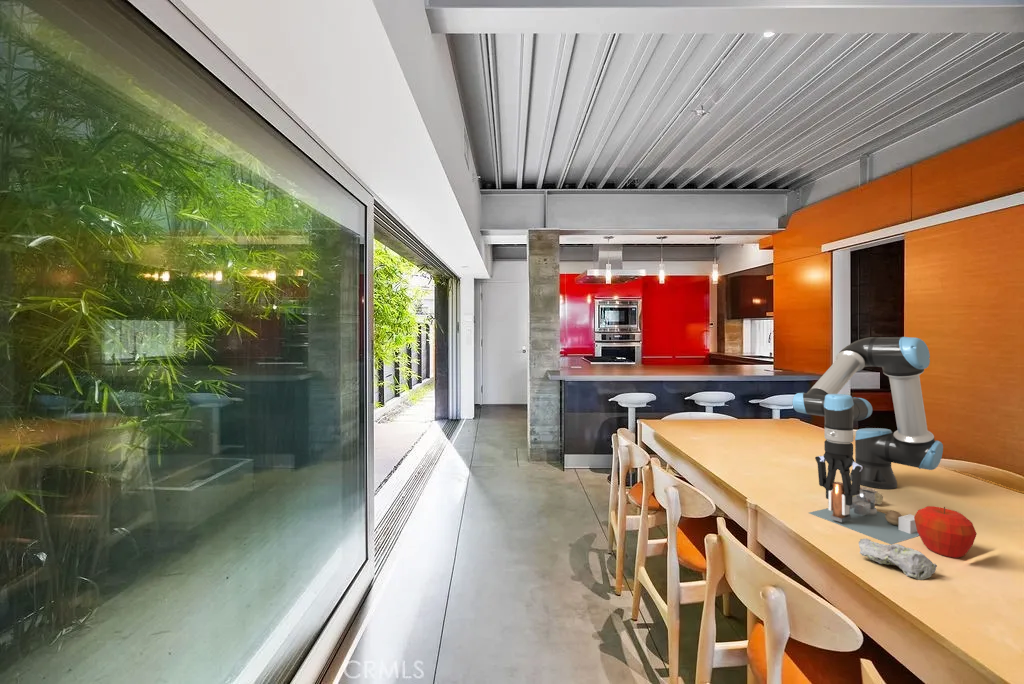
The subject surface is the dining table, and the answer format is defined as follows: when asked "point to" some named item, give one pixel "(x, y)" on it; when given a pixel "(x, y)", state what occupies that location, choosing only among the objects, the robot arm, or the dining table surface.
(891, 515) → the light brown ball
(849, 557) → the dining table surface
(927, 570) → the mineral specimen
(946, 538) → the apple
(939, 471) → the dining table surface
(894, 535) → the board
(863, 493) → the lever
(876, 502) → the rock
